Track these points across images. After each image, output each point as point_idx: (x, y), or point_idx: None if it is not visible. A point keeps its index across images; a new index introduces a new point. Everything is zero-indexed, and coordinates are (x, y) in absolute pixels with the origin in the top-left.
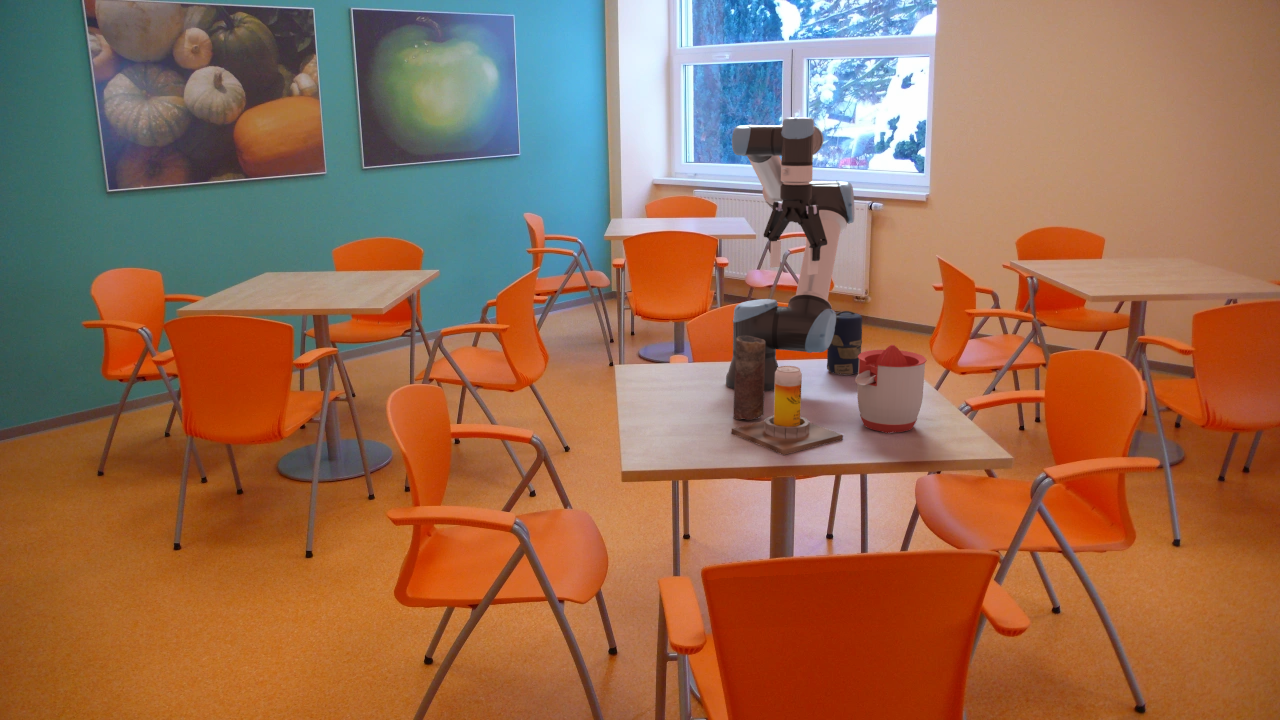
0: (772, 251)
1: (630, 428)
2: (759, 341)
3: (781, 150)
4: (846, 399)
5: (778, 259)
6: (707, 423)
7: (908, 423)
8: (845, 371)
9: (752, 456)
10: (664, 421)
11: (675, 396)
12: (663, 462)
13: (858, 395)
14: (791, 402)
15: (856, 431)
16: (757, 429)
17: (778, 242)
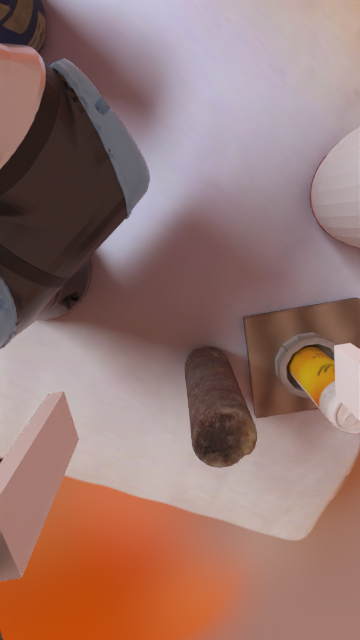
0: (49, 508)
1: (177, 506)
2: (229, 419)
3: None
4: (192, 159)
5: (55, 427)
6: None
7: None
8: (42, 39)
9: (339, 429)
10: (169, 465)
11: None
12: (300, 513)
13: (352, 245)
14: None
15: (339, 256)
16: (277, 391)
17: (6, 519)
